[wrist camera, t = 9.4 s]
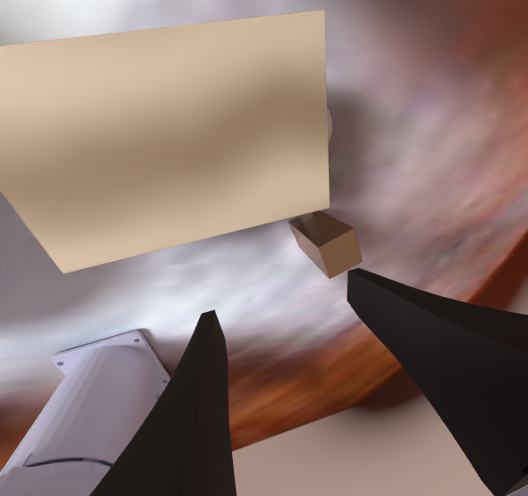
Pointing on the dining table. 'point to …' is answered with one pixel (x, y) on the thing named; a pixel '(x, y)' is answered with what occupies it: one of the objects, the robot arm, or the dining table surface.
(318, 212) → the wood grain brick
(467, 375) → the robot arm
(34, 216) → the tan slab
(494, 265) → the dining table surface
